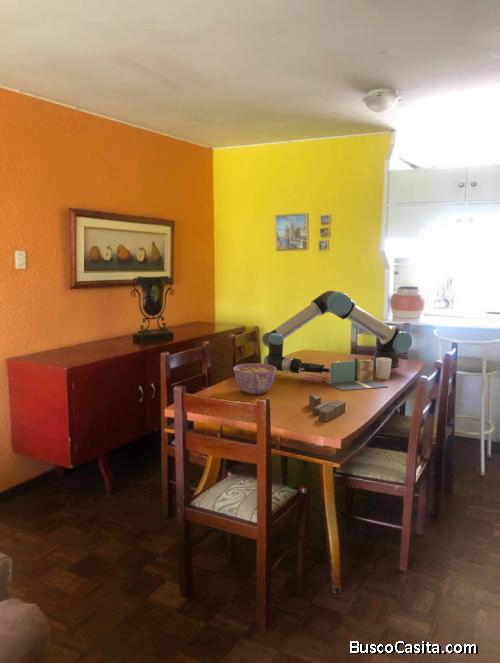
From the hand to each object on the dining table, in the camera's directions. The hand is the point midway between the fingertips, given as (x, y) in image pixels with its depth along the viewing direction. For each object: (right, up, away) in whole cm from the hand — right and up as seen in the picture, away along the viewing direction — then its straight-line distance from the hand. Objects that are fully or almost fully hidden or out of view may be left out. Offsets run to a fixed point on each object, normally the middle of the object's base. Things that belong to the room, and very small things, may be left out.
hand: (335, 370), depth 258 cm
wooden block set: (-15, -14, -47) cm, 51 cm away
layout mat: (+10, -7, 0) cm, 12 cm away
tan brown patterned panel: (+15, -6, +5) cm, 17 cm away
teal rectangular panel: (+4, -5, +1) cm, 7 cm away
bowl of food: (-40, -9, -17) cm, 45 cm away
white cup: (+27, -5, +13) cm, 30 cm away
